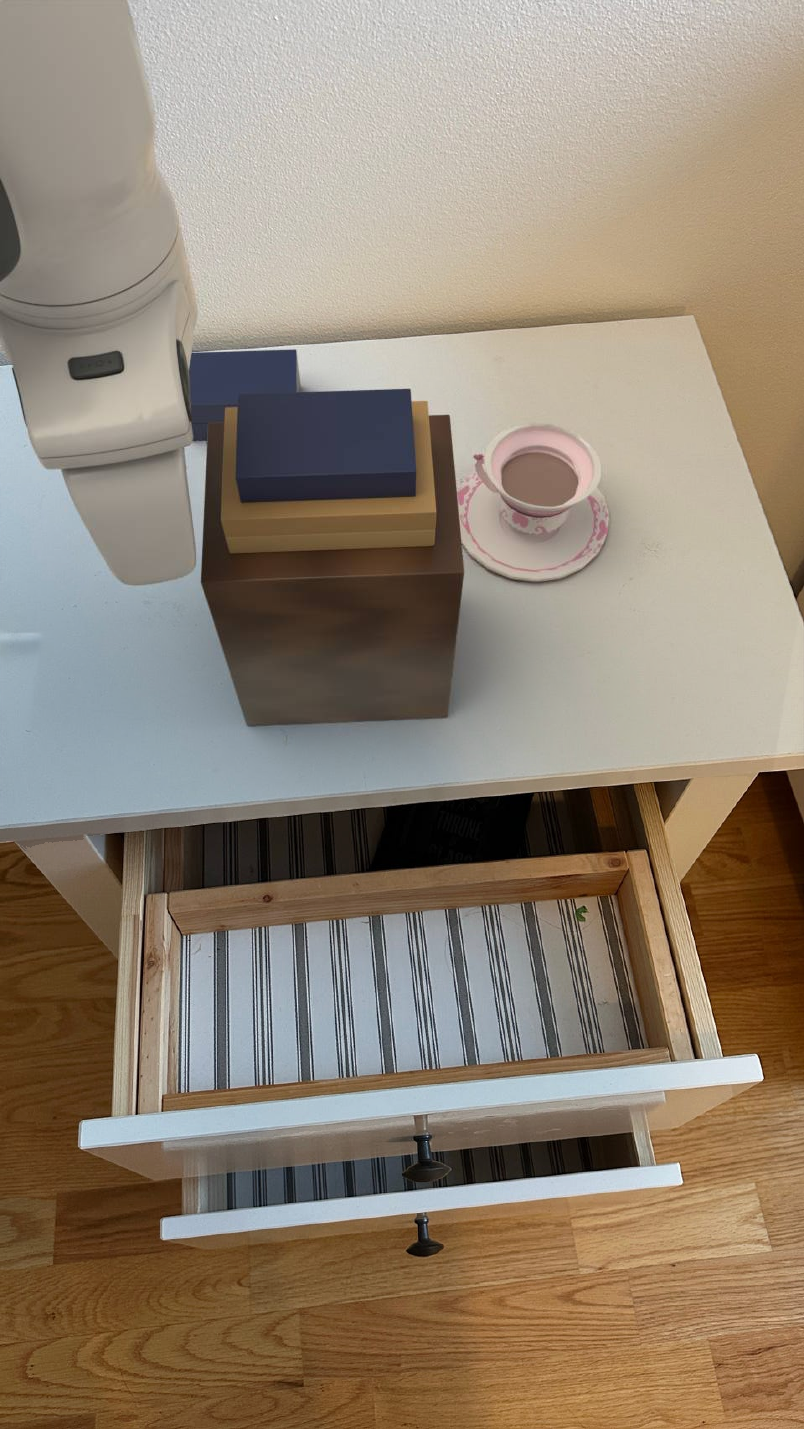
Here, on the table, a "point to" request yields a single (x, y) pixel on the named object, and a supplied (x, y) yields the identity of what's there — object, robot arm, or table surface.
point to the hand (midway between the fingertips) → (158, 490)
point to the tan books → (330, 509)
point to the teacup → (534, 504)
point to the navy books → (236, 381)
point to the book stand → (338, 614)
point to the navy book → (325, 445)
